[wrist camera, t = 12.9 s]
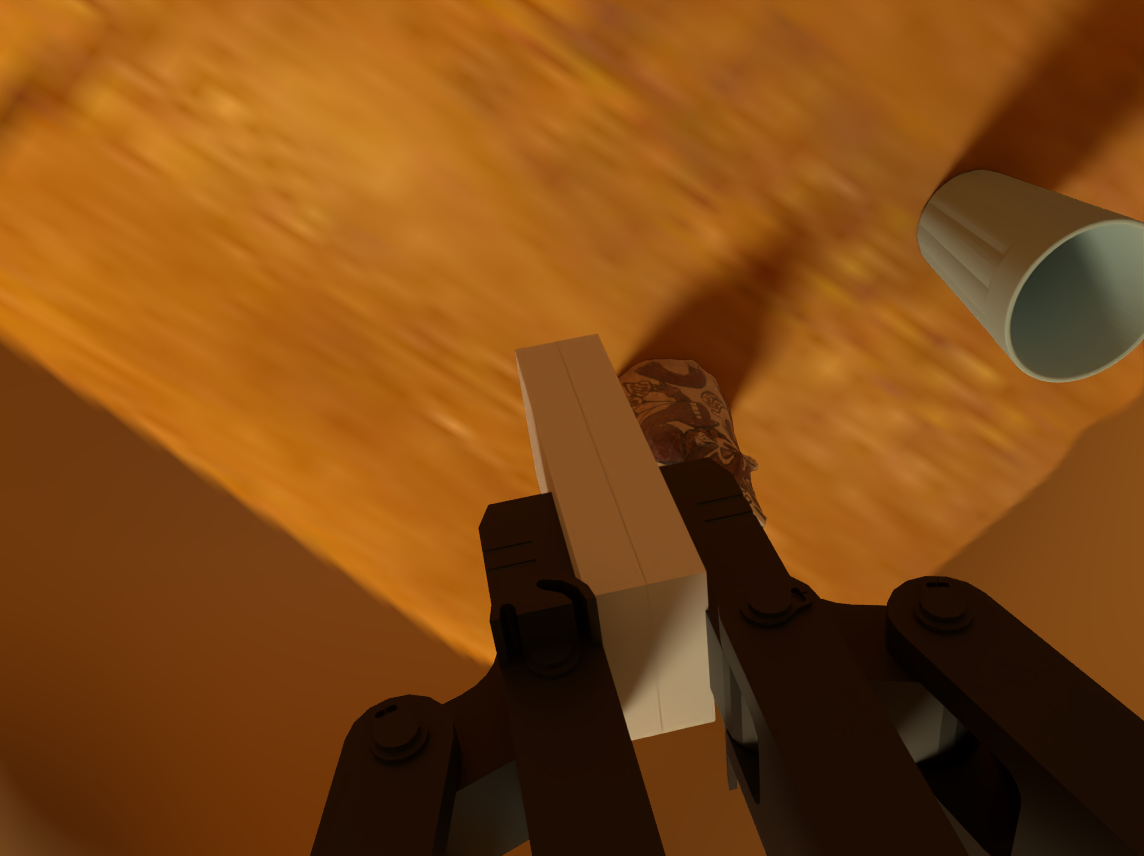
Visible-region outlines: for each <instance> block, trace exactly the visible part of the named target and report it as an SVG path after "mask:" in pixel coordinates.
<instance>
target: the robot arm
mask: <svg viewBox="0 0 1144 856" xmlns="http://www.w3.org/2000/svg"><path fill="white" fill-rule="evenodd" d="M515 354H516V360H517V366H518V372H519V378H520V383H521V389H522V395H523V401H524V407H525V412H526V418H527V424H528V430H529V435H530V441H531V447H532V453H533V459H534V464H535V470H536V475H537V479H538V483H539V487H540V490H541V494H538V495H533V496H529V497H524V498H519V499H514V500H509V501H505V502H500V503H495V504H490V505H488V507H487V509H486V512H485V514H484V516H483V519H482V521H481V523H480V526H479V534H480V540H481V546H482V551H483V557H484V563H485V569H486V575H487V581H488V587H489V593H490V599H491V605H492V606H491V613H490V625H491V630H492V634H493V638H494V643H495V647H496V652H497V655H496V658H495V661H494V664H493V666H492V667H491V669H490V670H489V672H488V673H487V675H486V676H485V677H484V678H483V679H482V680H481V681H480V682H479V683H478V684H477V685H476V686H474V687H473V688H471V689H470V690H468V691H466V692H465V693H463V694H462V695H460V696H458V697H456V698H454V699H452V700H450V701H448V702H446V703H445V704H443V705H442V704H440V703H439V702H437V701H435V700H433V699H432V698H430V697H426V696H418V695H404V696H399V697H394V698H389V699H387V700H385V701H383V702H381V703H379V704H377V705H375V706H373V707H371V708H369V709H368V710H367V711H366V712H365V713H364V714H363V715H362V716H361V717H360V718H358V719H357V720H356V721H355V722H354V724H353V725H352V728H351V729H350V731H349V733H348V735H347V737H346V739H345V741H344V744H343V748H342V751H341V755H340V758H339V761H338V765H337V768H336V771H335V774H334V778H333V781H332V785H331V788H330V791H329V794H328V798H327V801H326V805H325V808H324V812H323V814H322V818H321V821H320V824H319V828H318V832H317V835H316V838H315V841H314V844H313V848H312V851H311V855H310V856H502V855H504V854H506V853H507V852H509V851H511V850H512V849H514V848H516V847H517V846H519V845H521V844H522V843H524V842H526V841H527V840H530V845H531V851H532V856H666V855H665V852H664V849H663V845H662V842H661V838H660V835H659V832H658V829H657V825H656V822H655V818H654V815H653V812H652V808H651V805H650V801H649V798H648V795H647V791H646V789H645V785H644V782H643V778H642V775H641V771H640V768H639V765H638V761H637V758H636V754H635V751H634V748H633V744H632V741H631V740H635V739H640V738H644V737H649V736H653V735H657V734H661V733H666V732H670V731H674V730H679V729H683V728H687V727H692V726H696V725H700V724H705V723H709V722H713V721H715V708H714V699H715V701H716V704H717V706H718V708H719V711H720V713H721V716H722V719H723V721H724V724H725V743H726V760H727V777H728V784H729V790H733V789H737V780H738V782H739V785H740V788H741V790H742V793H743V795H744V798H745V801H746V803H747V806H748V808H749V811H750V813H751V816H752V819H753V821H754V824H755V826H756V829H757V831H758V834H759V837H760V839H761V842H762V844H763V847H764V849H765V852H766V855H767V856H1144V721H1143V720H1142V719H1141V718H1140V717H1138V716H1137V715H1136V714H1135V713H1133V712H1132V711H1131V710H1130V709H1128V708H1127V707H1126V706H1125V705H1123V704H1122V703H1121V702H1120V701H1119V700H1117V699H1116V698H1115V697H1114V696H1112V695H1111V694H1110V693H1109V692H1107V691H1106V690H1105V689H1104V688H1102V687H1101V686H1100V685H1099V684H1097V683H1096V682H1095V681H1094V680H1093V679H1091V678H1090V677H1089V676H1088V675H1086V674H1085V673H1084V672H1082V671H1081V670H1080V669H1079V668H1078V667H1076V666H1075V665H1074V664H1073V663H1071V662H1070V661H1069V660H1068V659H1066V658H1065V657H1064V656H1063V655H1061V654H1060V653H1059V652H1058V651H1057V650H1055V649H1054V648H1053V647H1051V646H1050V645H1049V644H1048V643H1046V642H1045V641H1044V640H1043V639H1042V638H1040V637H1039V636H1038V635H1037V634H1035V633H1034V632H1033V631H1032V630H1030V629H1029V628H1028V627H1027V626H1025V625H1024V624H1023V623H1022V622H1020V621H1019V620H1018V619H1017V618H1016V617H1014V616H1013V615H1012V614H1011V613H1009V612H1008V611H1007V610H1006V609H1004V608H1003V607H1002V606H1001V605H999V604H998V603H997V602H996V601H995V600H993V599H992V598H991V597H990V596H988V595H987V594H986V593H984V592H983V591H981V590H979V589H978V588H976V587H974V586H973V585H971V584H969V583H967V582H964V581H960V580H957V579H953V578H949V577H941V576H924V577H920V578H916V579H912V580H908V581H906V582H904V583H903V584H902V585H900V586H899V587H897V588H896V589H894V590H893V592H892V594H891V596H890V598H889V600H888V602H887V606H882V605H851V604H842V603H835V602H831V601H828V600H824V599H820V598H819V596H818V595H817V594H816V593H815V592H814V591H813V590H812V589H811V588H810V587H809V586H808V585H807V584H805V583H803V582H801V581H799V580H797V579H795V578H793V577H791V576H790V575H789V574H788V572H787V570H786V568H785V567H784V565H783V563H782V561H781V559H780V558H779V556H778V554H777V552H776V551H775V549H774V547H773V545H772V543H771V542H770V540H769V538H768V536H767V535H766V533H765V531H764V529H763V528H762V526H761V524H760V522H759V520H758V519H757V517H756V515H754V514H753V510H752V508H751V506H750V504H749V503H748V501H747V499H746V498H744V495H743V492H742V490H741V488H740V487H739V485H738V483H737V481H736V480H735V478H734V476H733V474H732V473H731V472H730V471H728V470H727V469H725V468H724V467H723V466H721V465H720V464H718V463H717V462H715V461H714V460H712V459H711V458H709V457H706V458H701V459H696V460H691V461H686V462H682V463H677V464H672V465H667V466H662V467H658V465H657V463H656V460H655V458H654V456H653V454H652V452H651V449H650V447H649V445H648V443H647V441H646V439H645V436H644V434H643V432H642V430H641V428H640V425H639V423H638V421H637V419H636V417H635V414H634V412H633V410H632V408H631V406H630V404H629V401H628V399H627V397H626V395H625V393H624V390H623V388H622V386H621V384H620V382H619V379H618V377H617V375H616V373H615V371H614V369H613V366H612V364H611V362H610V360H609V358H608V355H607V353H606V351H605V349H604V347H603V344H602V342H601V340H600V338H599V336H598V334H594V335H588V336H583V337H578V338H573V339H568V340H563V341H558V342H552V343H547V344H542V345H537V346H532V347H527V348H522V349H516V350H515Z"/></svg>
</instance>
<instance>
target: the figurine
mask: <svg viewBox="0 0 1144 856" xmlns="http://www.w3.org/2000/svg"><path fill="white" fill-rule="evenodd" d="M618 379H619V382H620V384H621V386H622V388H623V390H624V393H625V395H626V397H627V399H628V401H629V404H630V406H631V408H632V410H633V412H634V414H635V417H636V419H637V421H638V423H639V425H640V428H641V430H642V432H643V434H644V436H645V439H646V441H647V443H648V445H649V447H650V449H651V452H652V454H653V456H654V458H655V460H656V463H657V465H658V467H662V466H667V465H672V464H677V463H682V462H686V461H691V460H696V459H701V458H706V457H709V458H711V459H712V460H714V461H715V462H717V463H718V464H720V465H721V466H723V467H724V468H725V469H727V470H728V471H730V472H731V473H732V474H733V476H734V478H735V480H736V481H737V483H738V485H739V487H740V488H741V490H742V492H743V495H744V498H746V499H747V501H748V503H749V504H750V506H751V508H752V510H753V514H754V515H756V517H757V519H758V520H759V522H760V524H761V526H762V528H763V527H764V526H765V523H766V519H767V517H766V516H765V515H763V513H762V510H761V508H760V506H759V504H758V502H757V499H756V497H755V493H754V490H753V487H752V484H751V475H750V472H752V471H755V470H757V469H758V463H757V462H756V461H755V459H753V458H751V457H750V456H745V455H743V454H742V453H741V452H740V450H739V447H738V444H737V440H736V437H735V434H734V429H733V421H732V416H731V412H730V408H729V405H728V403H727V401H726V399H725V398H724V396H723V394H722V392H721V390H720V388H719V385H718V383H717V381H716V378H715V377H713V376H712V375H711V374H709V373H707V372H706V371H705V370H704V369H702V368H701V366H700V365H699V364H697V363H696V362H695V361H693V360H675V359H653V360H645V361H642V362H640V363H638V364H636V365H634V366H632V367H631V368H630V369H629V370H627V371H626V372H625V373H624V374H623V375H622V376H620V377H619V378H618Z"/></svg>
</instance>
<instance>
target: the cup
mask: <svg viewBox="0 0 1144 856" xmlns="http://www.w3.org/2000/svg"><path fill="white" fill-rule="evenodd" d="M917 236H918V243H919V247H920V250H921V253H922V255H923V257H924V258H925V259H926V260H927V262H928V263H929V264H930V265H931V267H932V268H933V269H934V270H935V271H936V272H937V273H938V275H939V276H940V277H941V278H942V279H943V280H944V281H945V283H946V284H947V285H948V286H949V287H950V288H951V290H952V291H953V292H954V293H955V294H956V295H957V296H958V298H959V299H960V300H961V301H962V302H963V303H964V305H965V306H966V307H967V308H968V309H969V310H970V311H971V313H972V314H973V315H974V316H975V317H976V318H977V320H978V321H979V322H980V323H981V324H982V325H983V326H984V328H985V329H986V330H987V331H988V332H989V333H990V335H991V336H992V337H993V338H994V340H995V341H996V342H997V343H998V345H999V346H1000V347H1001V348H1002V349H1003V350H1004V352H1005V353H1006V354H1007V355H1008V356H1009V357H1010V359H1011V360H1012V361H1013V362H1014V363H1015V364H1016V366H1017V367H1018V368H1020V369H1021V370H1022V371H1023V372H1025V373H1026V374H1028V375H1029V376H1031V377H1034V378H1036V379H1039V380H1042V381H1047V382H1070V381H1075V380H1080V379H1083V378H1087V377H1090V376H1092V375H1095V374H1097V373H1099V372H1101V371H1103V370H1105V369H1107V368H1109V367H1111V366H1112V365H1114V364H1115V363H1117V362H1118V361H1120V360H1121V359H1123V358H1124V357H1125V356H1126V355H1128V354H1129V353H1130V352H1131V351H1132V350H1133V349H1135V348H1136V347H1137V346H1138V345H1139V344H1140V343H1141V342H1142V341H1143V339H1144V222H1141V221H1138V220H1135V219H1133V218H1130V217H1127V216H1124V215H1121V214H1118V213H1115V212H1112V211H1109V210H1106V209H1102V208H1100V207H1097V206H1094V205H1091V204H1088V203H1085V202H1082V201H1079V200H1077V199H1074V198H1071V197H1068V196H1065V195H1062V194H1059V193H1056V192H1054V191H1051V190H1048V189H1045V188H1042V187H1039V186H1036V185H1033V184H1030V183H1028V182H1025V181H1022V180H1019V179H1016V178H1013V177H1010V176H1007V175H1004V174H1001V173H998V172H993V171H988V170H974V171H970V172H966V173H963V174H960V175H958V176H956V177H954V178H952V179H951V180H949V181H948V182H947V183H945V184H944V185H943V186H942V187H940V188H939V189H938V190H937V191H936V192H935V193H934V194H933V196H932V197H931V199H930V200H929V201H928V203H927V205H926V206H925V208H924V210H923V212H922V214H921V218H920V221H919V226H918V232H917Z"/></svg>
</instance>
